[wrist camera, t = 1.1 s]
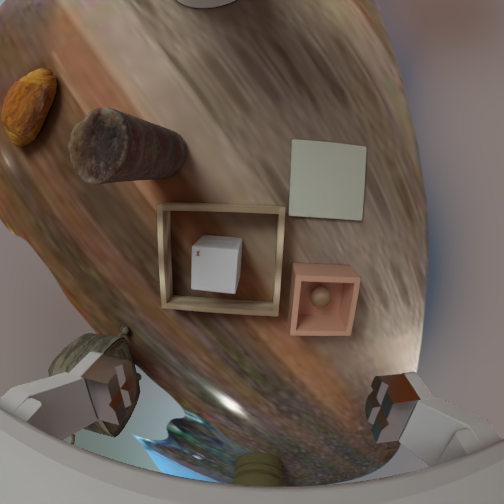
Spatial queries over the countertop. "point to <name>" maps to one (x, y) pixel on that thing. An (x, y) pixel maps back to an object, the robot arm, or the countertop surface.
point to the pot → (331, 316)
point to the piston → (258, 470)
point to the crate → (214, 303)
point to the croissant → (28, 105)
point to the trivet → (327, 180)
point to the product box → (216, 264)
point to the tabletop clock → (106, 346)
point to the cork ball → (320, 296)
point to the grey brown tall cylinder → (123, 148)
